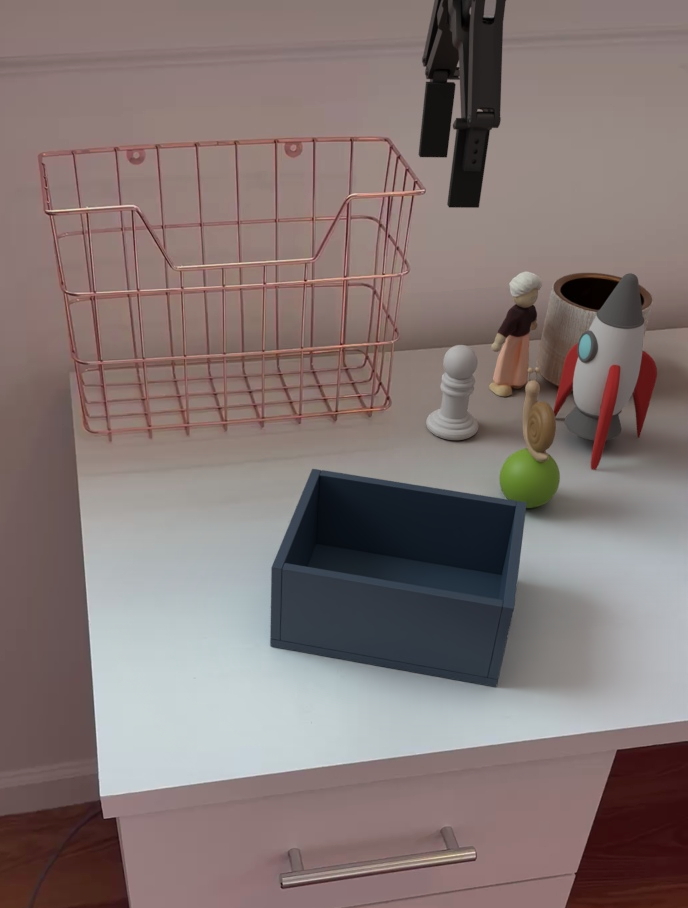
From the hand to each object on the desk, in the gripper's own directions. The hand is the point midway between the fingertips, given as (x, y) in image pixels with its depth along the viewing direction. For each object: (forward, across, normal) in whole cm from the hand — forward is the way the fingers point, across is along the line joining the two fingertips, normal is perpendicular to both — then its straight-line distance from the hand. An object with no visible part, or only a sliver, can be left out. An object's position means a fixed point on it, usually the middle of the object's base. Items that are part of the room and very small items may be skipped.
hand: (447, 180), depth 96 cm
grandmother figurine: (+22, -1, +10) cm, 24 cm away
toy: (+22, +10, +17) cm, 30 cm away
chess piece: (+22, +8, +2) cm, 23 cm away
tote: (+22, +36, -9) cm, 43 cm away
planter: (+22, -3, +19) cm, 30 cm away
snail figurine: (+22, +20, +6) cm, 31 cm away
